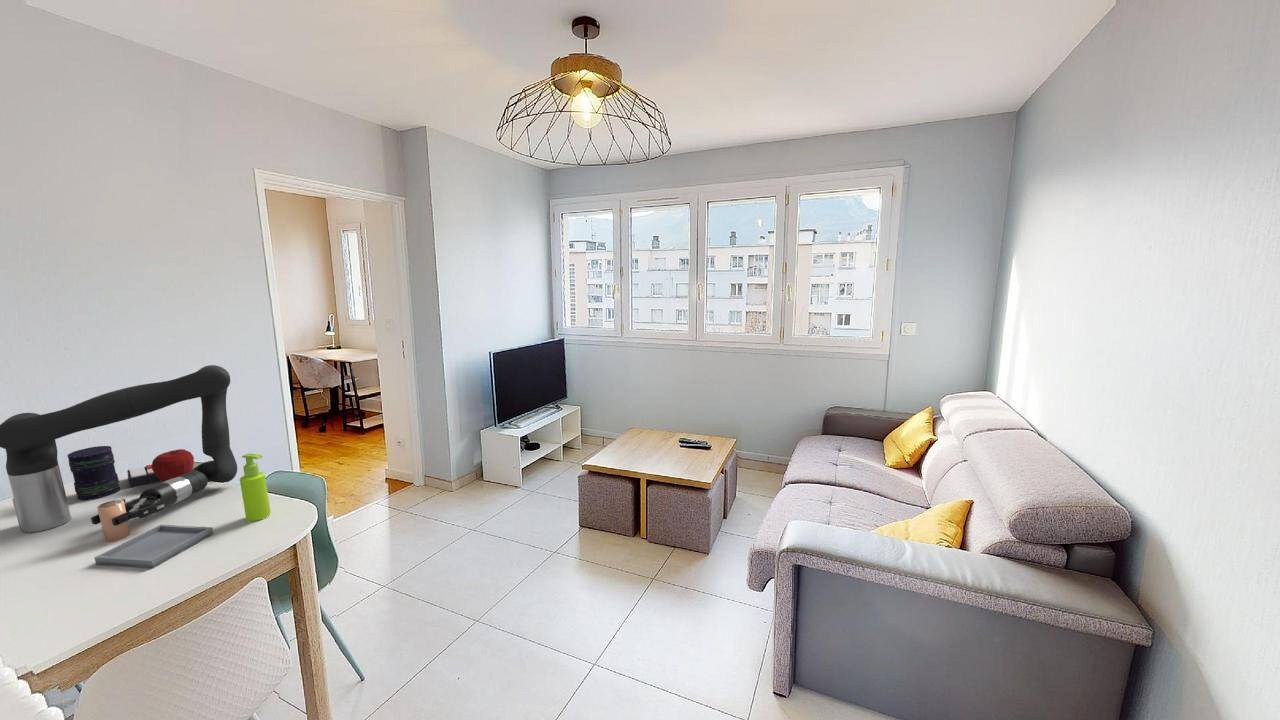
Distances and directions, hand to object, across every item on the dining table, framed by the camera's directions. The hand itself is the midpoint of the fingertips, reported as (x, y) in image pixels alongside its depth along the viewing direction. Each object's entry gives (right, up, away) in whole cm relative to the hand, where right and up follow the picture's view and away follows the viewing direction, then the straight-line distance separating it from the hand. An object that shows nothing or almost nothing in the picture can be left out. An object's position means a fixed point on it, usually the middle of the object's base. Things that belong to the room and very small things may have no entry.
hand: (103, 521), depth 133 cm
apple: (-17, +1, +39) cm, 42 cm away
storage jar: (-34, -1, +29) cm, 45 cm away
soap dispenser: (+31, -4, +15) cm, 35 cm away
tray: (+17, -7, -2) cm, 18 cm away
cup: (0, -5, +4) cm, 6 cm away
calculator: (-27, +2, +43) cm, 50 cm away
